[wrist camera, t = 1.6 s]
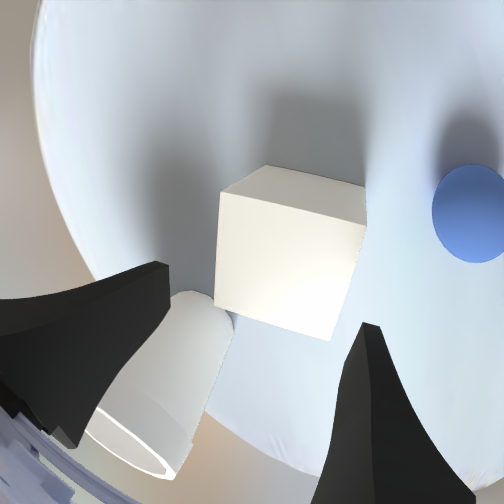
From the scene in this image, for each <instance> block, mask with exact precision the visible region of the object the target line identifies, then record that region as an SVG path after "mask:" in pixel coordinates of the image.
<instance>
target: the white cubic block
mask: <svg viewBox="0 0 504 504" xmlns="http://www.w3.org/2000/svg"><path fill="white" fill-rule="evenodd" d="M366 228H367V212H366V192H365V187H362V186H358V185H354V184H351V183H347V182H343V181H338V180H334V179H330V178H326V177H322V176H317V175H313V174H308V173H304V172H299V171H294V170H290V169H285V168H280V167H275V166H270V165H264V166H262V167H261V168H259V169H257V170H256V171H254V172H252V173H250V174H249V175H247V176H245V177H244V178H242V179H240V180H239V181H237V182H235V183H234V184H232V185H230V186H229V187H227V188H225V189H224V190H222V191H221V192H220V204H219V219H218V234H217V250H216V268H215V288H214V306H216V307H219V308H222V309H225V310H228V311H231V312H234V313H237V314H240V315H243V316H247V317H250V318H253V319H256V320H259V321H263V322H266V323H269V324H272V325H276V326H279V327H282V328H286V329H289V330H293V331H296V332H299V333H303V334H306V335H310V336H314V337H317V338H321V339H324V340H328V341H329V340H330V337H331V334H332V332H333V329H334V326H335V324H336V321H337V318H338V316H339V313H340V310H341V307H342V304H343V301H344V299H345V296H346V293H347V290H348V287H349V284H350V281H351V278H352V275H353V271H354V268H355V265H356V262H357V259H358V255H359V252H360V249H361V245H362V242H363V239H364V235H365V232H366Z"/></svg>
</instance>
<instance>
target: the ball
mask: <svg viewBox="0 0 504 504" xmlns="http://www.w3.org/2000/svg"><path fill="white" fill-rule="evenodd" d="M432 219H433V224H434V228H435V231H436V233H437V236H438V238H439V240H440V241H441V243H442V244H443V245H444V247H445V248H446V249H447V250H448V251H449V252H450V253H451V254H453V255H454V256H455V257H457V258H459V259H461V260H464V261H467V262H472V263H482V262H487V261H490V260H492V259H494V258H496V257H497V256H499V255H500V254H501V253H503V252H504V179H503V178H502V177H501V176H500V175H499V174H497V173H496V172H495V171H493V170H492V169H490V168H487V167H484V166H481V165H464V166H460V167H458V168H456V169H454V170H452V171H451V172H449V173H448V174H447V175H446V176H445V177H444V178H443V180H442V181H441V182H440V184H439V185H438V187H437V189H436V192H435V195H434V198H433V203H432Z"/></svg>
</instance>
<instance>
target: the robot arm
mask: <svg viewBox="0 0 504 504" xmlns="http://www.w3.org/2000/svg"><path fill="white" fill-rule="evenodd" d="M170 308H171V301H170V284H169V265H167V264H164V263H161V262H158V261H153V262H150V263H146V264H143V265H140V266H138V267H135V268H132V269H129V270H127V271H124V272H121V273H119V274H116V275H113V276H111V277H108V278H105V279H102V280H99V281H96V282H93V283H90V284H87V285H84V286H82V287H78V288H75V289H71V290H67V291H63V292H59V293H54V294H48V295H42V296H36V297H31V298H20V299H0V504H76V503H75V502H73V501H72V500H71V498H72V496H73V495H74V494H75V490H74V489H73V488H72V487H70V486H69V485H68V484H67V483H66V482H64V481H63V480H62V479H61V478H59V477H58V476H57V475H56V474H55V473H53V472H52V471H51V470H49V469H48V468H47V467H46V466H45V465H44V464H43V463H41V462H40V460H39V452H40V453H41V454H42V455H43V456H44V457H45V458H46V459H47V460H49V461H50V462H51V463H52V464H53V465H54V466H55V467H57V468H58V469H59V470H60V471H61V472H63V473H64V474H65V475H66V476H68V477H69V478H70V479H71V480H73V481H74V482H75V483H77V484H78V485H79V486H81V487H82V488H83V489H85V490H86V491H87V492H89V493H91V494H92V495H93V496H95V497H96V498H97V499H99V500H100V501H102V502H103V503H105V504H141V503H139V502H138V501H136V500H134V499H133V498H131V497H129V496H127V495H126V494H124V493H122V492H121V491H119V490H117V489H116V488H114V487H113V486H111V485H110V484H108V483H106V482H105V481H103V480H102V479H100V478H99V477H98V476H96V475H95V474H93V473H92V472H90V471H89V470H87V469H86V468H85V467H83V466H82V465H81V464H79V463H78V462H77V461H75V460H74V459H73V458H72V457H70V456H69V455H68V454H66V453H65V452H64V451H63V450H62V449H60V448H59V447H58V446H57V445H56V444H54V443H53V442H52V441H51V440H50V439H49V438H47V437H46V436H45V435H44V434H43V433H42V432H41V430H43V431H44V432H46V433H47V434H48V435H52V436H53V437H55V438H56V439H57V440H58V441H59V442H61V443H62V444H63V445H64V446H65V447H67V448H68V449H75V448H77V447H78V444H79V442H80V440H81V437H82V435H83V433H84V431H85V429H86V427H87V425H88V423H89V421H90V419H91V417H92V415H93V413H94V411H95V410H96V408H97V406H98V404H99V403H100V401H101V399H102V398H103V396H104V394H105V393H106V391H107V389H108V388H109V386H110V385H111V383H112V382H113V380H114V379H115V377H116V376H117V375H118V373H119V372H120V370H121V369H122V368H123V367H124V365H125V364H126V363H127V362H128V361H129V360H130V358H131V357H132V356H133V355H134V354H135V353H136V352H137V351H138V349H139V348H140V347H141V346H142V345H143V344H144V343H145V342H146V340H147V339H148V338H149V337H150V336H151V335H152V334H153V332H154V331H155V330H156V329H157V328H158V326H159V325H160V323H161V322H162V320H163V319H164V318H165V316H166V314H167V313H168V311H169V310H170ZM38 451H39V452H38ZM311 504H476V496H475V495H474V494H473V493H472V491H471V490H470V489H469V488H468V487H467V486H466V485H465V484H464V483H463V481H462V480H461V479H460V478H459V477H458V476H457V475H456V474H455V472H454V471H453V470H452V468H451V467H450V466H449V465H448V463H447V462H446V461H445V459H444V458H443V457H442V455H441V454H440V452H439V451H438V450H437V448H436V446H435V445H434V443H433V442H432V440H431V439H430V437H429V436H428V434H427V433H426V431H425V429H424V428H423V426H422V424H421V422H420V420H419V419H418V417H417V415H416V413H415V411H414V409H413V407H412V405H411V403H410V401H409V399H408V397H407V395H406V393H405V390H404V388H403V386H402V383H401V381H400V379H399V376H398V374H397V371H396V369H395V366H394V364H393V361H392V359H391V356H390V353H389V350H388V348H387V345H386V342H385V339H384V336H383V334H382V331H381V329H380V327H379V326H376V325H372V324H368V323H364V322H363V323H362V325H361V327H360V330H359V332H358V334H357V336H356V339H355V341H354V343H353V345H352V347H351V350H350V352H349V354H348V356H347V358H346V360H345V362H344V366H343V371H342V375H341V379H340V383H339V387H338V395H337V402H336V409H335V416H334V423H333V429H332V436H331V442H330V446H329V451H328V454H327V458H326V461H325V464H324V467H323V470H322V474H321V477H320V479H319V482H318V485H317V488H316V491H315V493H314V496H313V499H312V501H311Z"/></svg>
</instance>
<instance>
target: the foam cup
mask: <svg viewBox="0 0 504 504" xmlns="http://www.w3.org/2000/svg"><path fill="white" fill-rule="evenodd" d="M170 301H171V308H170V310H169V311H168V313H167V314H166V316H165V318H164V319H163V320H162V322H161V323H160V325H159V326H158V328H157V329H156V330H155V331H154V332H153V334H152V335H151V336H150V337H149V338H148V339H147V340H146V342H145V343H144V344H143V345H142V346H141V347H140V348H139V349H138V351H137V352H136V353H135V354H134V355H133V356H132V357H131V358H130V360H129V361H128V362H127V363H126V364H125V365H124V367H123V368H122V369H121V370H120V372H119V373H118V375H117V376H116V377H115V379H114V380H113V382H112V383H111V385H110V386H109V388H108V389H107V391H106V393H105V394H104V396H103V398H102V399H101V401H100V403H99V404H98V406H97V408H96V410H95V411H94V413H93V415H92V417H91V419H90V421H89V423H88V425H87V427H86V429H85V431H86V432H87V433H88V434H89V435H90V436H91V437H92V438H93V439H94V440H95V441H97V442H98V443H100V444H101V445H102V446H103V447H104V448H106V449H107V450H109V451H110V452H111V453H112V454H114V455H115V456H117V457H118V458H120V459H122V460H123V461H125V462H127V463H128V464H130V465H132V466H133V467H135V468H137V469H139V470H141V471H144V472H146V473H148V474H151V475H153V476H156V477H158V478H163V479H170V480H173V479H174V477H175V476H176V474H177V472H178V471H179V469H180V467H181V466H182V464H183V462H184V461H185V459H186V457H187V456H188V454H189V452H190V450H191V449H192V447H193V444H192V442H191V441H192V439H193V436H194V434H195V431H196V429H197V427H198V424H199V421H200V419H201V417H202V414H203V412H204V409H205V407H206V404H207V402H208V399H209V397H210V394H211V391H212V389H213V386H214V384H215V381H216V379H217V376H218V374H219V371H220V369H221V366H222V364H223V361H224V359H225V356H226V353H227V351H228V348H229V346H230V343H231V341H232V337H233V335H234V329H233V324H232V320H231V318H230V317H229V315H228V314H227V312H226V311H225V309H222V308H219V307H216V306H214V300H213V299H212V298H211V297H209V296H208V295H205V294H202V293H199V292H196V291H193V290H190V291H180V292H178V293H177V294H176V295H174V296H172V297H171V298H170Z"/></svg>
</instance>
